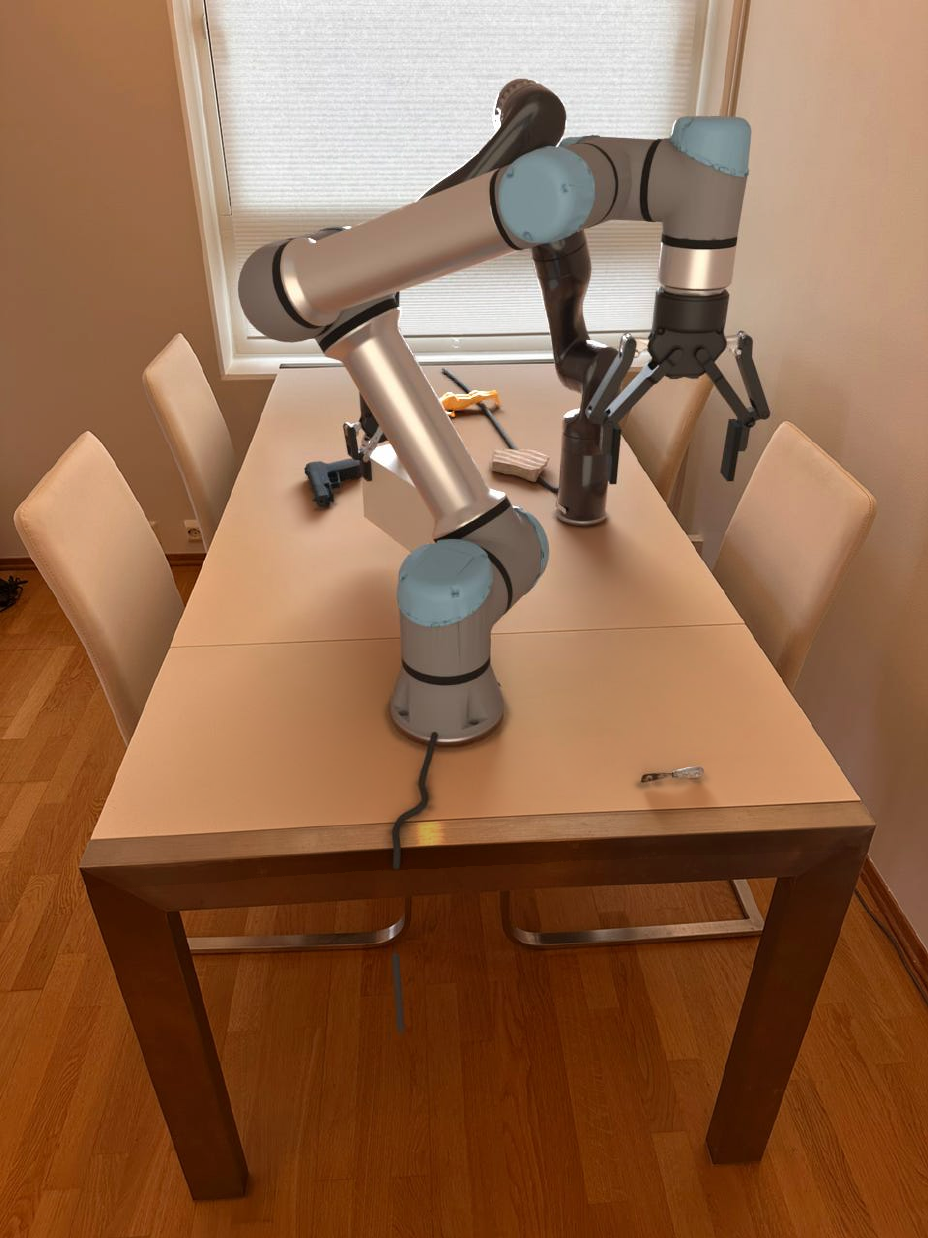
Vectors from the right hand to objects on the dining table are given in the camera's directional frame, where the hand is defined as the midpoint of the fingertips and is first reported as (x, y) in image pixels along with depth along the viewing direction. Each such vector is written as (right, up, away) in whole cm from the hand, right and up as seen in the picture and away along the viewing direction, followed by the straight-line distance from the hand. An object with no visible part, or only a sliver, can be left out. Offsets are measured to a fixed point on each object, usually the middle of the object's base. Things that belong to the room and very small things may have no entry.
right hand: (386, 475), depth 156 cm
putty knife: (+39, -45, -47) cm, 75 cm away
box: (+6, -12, -3) cm, 13 cm away
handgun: (-12, +2, +29) cm, 31 cm away
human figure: (+10, +28, +70) cm, 76 cm away
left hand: (+37, -9, -52) cm, 65 cm away
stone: (+26, +7, +36) cm, 45 cm away
